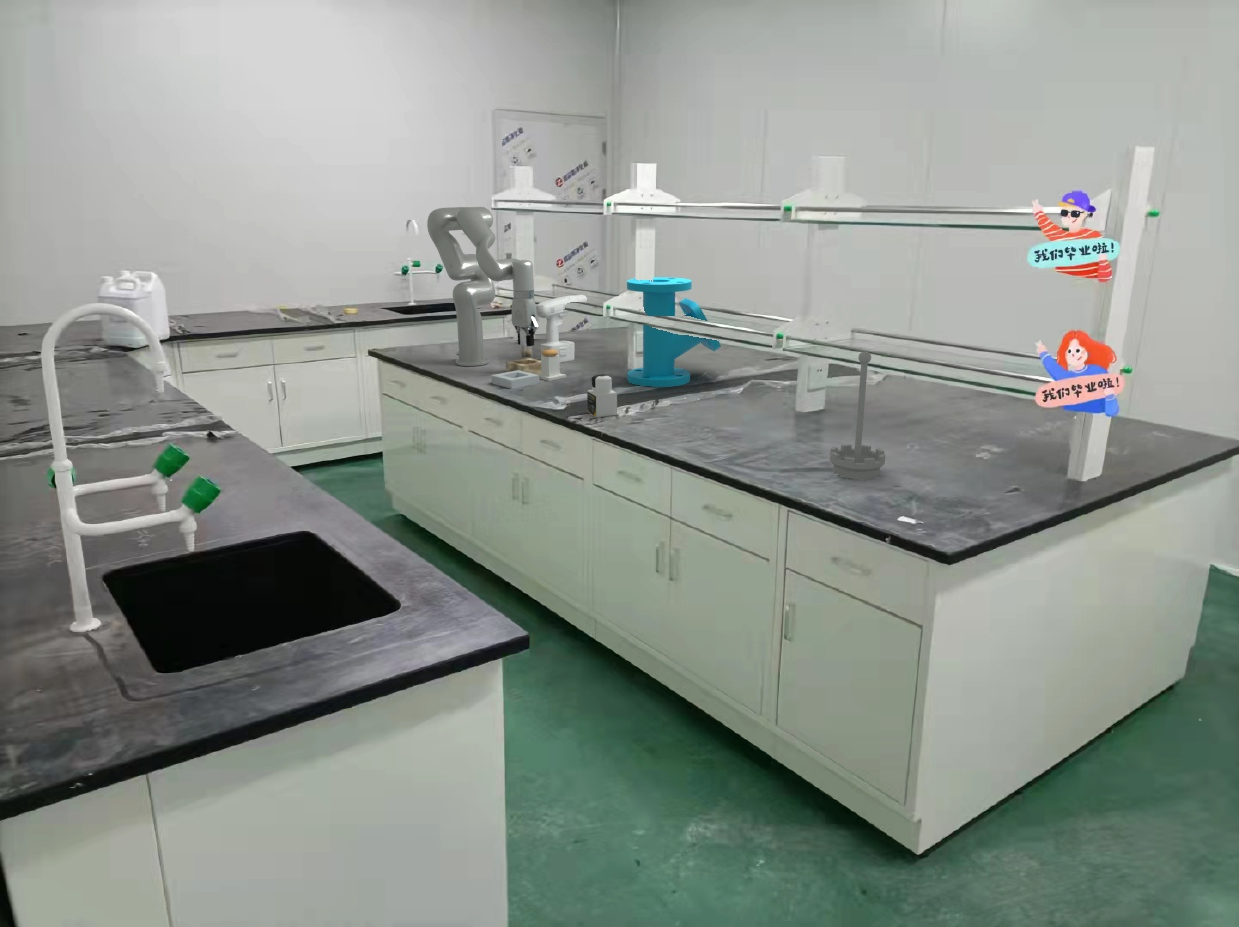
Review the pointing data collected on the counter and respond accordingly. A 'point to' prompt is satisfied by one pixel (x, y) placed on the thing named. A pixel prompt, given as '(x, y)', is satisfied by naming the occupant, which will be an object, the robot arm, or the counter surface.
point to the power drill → (557, 325)
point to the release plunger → (549, 352)
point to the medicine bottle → (602, 397)
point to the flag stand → (858, 441)
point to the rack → (524, 365)
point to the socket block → (515, 379)
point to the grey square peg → (525, 350)
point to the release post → (550, 368)
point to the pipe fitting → (665, 333)
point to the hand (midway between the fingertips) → (526, 344)
